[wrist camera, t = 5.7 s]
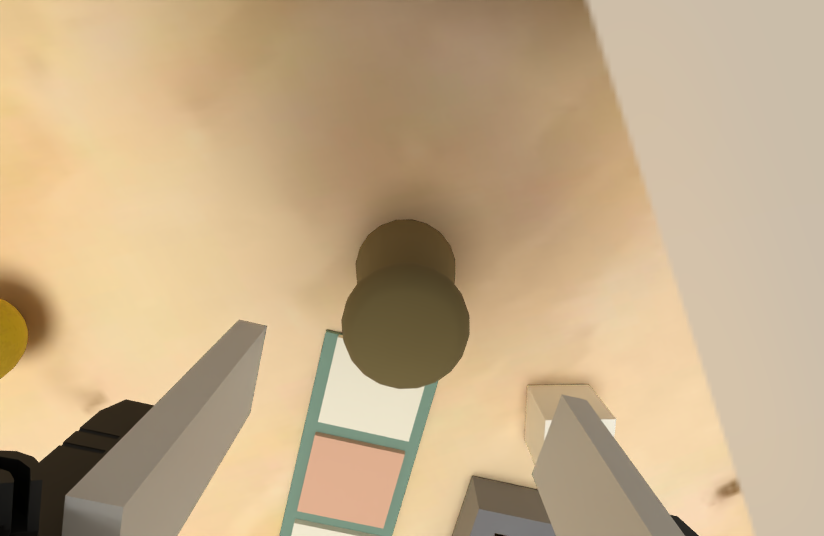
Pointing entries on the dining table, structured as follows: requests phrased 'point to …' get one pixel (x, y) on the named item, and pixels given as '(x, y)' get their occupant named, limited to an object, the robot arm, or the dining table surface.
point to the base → (502, 511)
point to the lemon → (11, 337)
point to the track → (353, 450)
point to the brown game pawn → (405, 307)
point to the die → (544, 406)
